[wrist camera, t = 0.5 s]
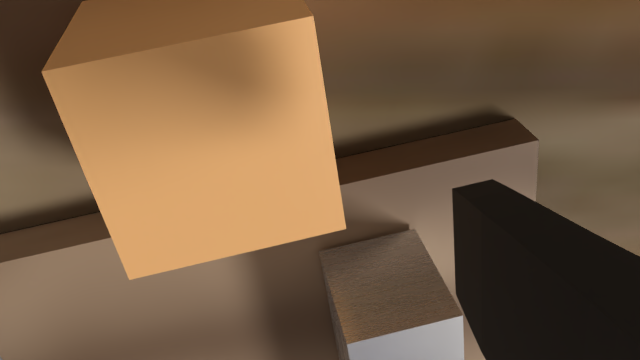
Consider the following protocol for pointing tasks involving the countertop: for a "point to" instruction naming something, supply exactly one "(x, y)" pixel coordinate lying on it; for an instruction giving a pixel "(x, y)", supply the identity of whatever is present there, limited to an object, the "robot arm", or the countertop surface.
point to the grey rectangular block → (391, 301)
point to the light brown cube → (198, 126)
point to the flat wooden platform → (244, 266)
